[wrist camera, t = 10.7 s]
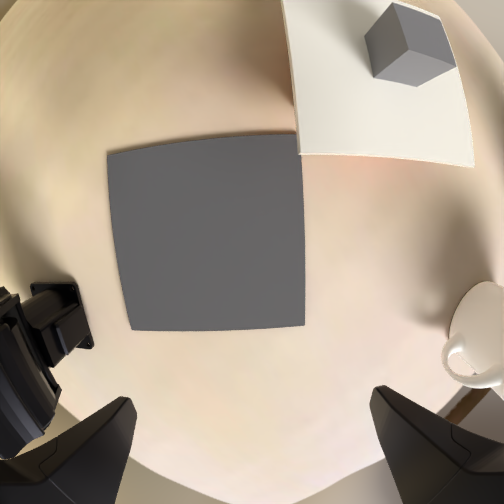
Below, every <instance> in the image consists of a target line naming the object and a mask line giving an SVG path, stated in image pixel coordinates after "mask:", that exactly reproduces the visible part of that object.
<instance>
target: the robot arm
mask: <svg viewBox="0 0 504 504" xmlns="http://www.w3.org/2000/svg"><path fill="white" fill-rule="evenodd" d="M34 287H35V288H34ZM72 287H73V288H74V290H73V288H72ZM30 289H31V292H32V296H33V297H31V298H29V299H28V300H26V301H24V302H23V303H20V297H19V294H18V293H17V294H10V292H8V291H7V290H6V289H5V287H4V286H3V287H0V458H1V459H7V460H0V504H115V500H116V496H117V493H118V489H119V486H120V482H121V479H122V476H123V472H124V469H125V466H126V463H127V459H128V456H129V453H130V449H131V445H132V440H133V435H134V430H135V425H136V420H137V412H136V410H135V407H134V405H133V403H132V400H131V399H130V398H129V397H123V396H120V397H118V398H117V399H115V400H114V401H112V402H111V403H109V404H107V405H106V406H104V407H103V408H101V409H100V410H98V411H97V412H95V413H94V414H92V415H91V416H89V417H87V418H86V419H84V420H83V421H81V422H80V423H78V424H76V425H75V426H73V427H72V428H70V429H69V430H67V431H65V432H63V433H62V434H60V435H59V436H58V437H55V438H53V439H52V440H50V441H48V442H47V443H45V444H43V445H41V446H39V447H37V448H35V449H33V450H31V451H28V452H26V453H24V454H21V455H19V456H17V457H15V456H16V455H17V454H18V453H19V452H20V450H21V449H22V448H23V447H25V446H26V445H27V444H28V443H29V442H31V441H32V440H34V439H36V438H38V437H40V436H43V435H44V434H45V432H44V430H45V429H46V428H47V427H48V426H49V424H50V423H51V421H52V419H53V417H54V415H55V408H56V405H57V402H58V400H59V397H60V394H61V391H62V389H61V387H60V386H59V384H57V382H56V381H55V379H54V377H53V375H52V373H51V371H50V370H49V368H50V367H52V368H54V367H55V366H56V365H57V364H58V363H59V362H60V361H61V360H62V359H63V358H64V357H65V356H66V355H69V353H70V352H71V351H72V350H73V349H74V348H75V347H76V348H83V349H92V348H93V347H94V342H93V339H92V336H91V333H90V329H89V326H88V323H87V319H86V316H85V312H84V308H83V305H82V301H81V297H80V293H79V288H78V285H77V284H76V283H75V282H34V283H32V284H31V285H30ZM88 343H89V344H90V345H89V344H88ZM370 410H371V413H372V417H373V421H374V425H375V428H376V432H377V436H378V439H379V442H380V445H381V447H382V450H383V452H384V455H385V457H386V460H387V462H388V465H389V467H390V470H391V472H392V475H393V478H394V480H395V483H396V486H397V488H398V491H399V494H400V496H401V499H402V502H403V504H504V443H500V442H497V441H494V440H491V439H488V438H485V437H482V436H480V435H477V434H475V433H472V432H470V431H467V430H465V429H463V428H461V427H459V426H457V425H455V424H453V423H451V422H449V421H448V420H446V419H444V418H442V417H440V416H438V415H436V414H435V413H433V412H431V411H429V410H427V409H426V408H424V407H422V406H420V405H418V404H417V403H415V402H413V401H411V400H410V399H408V398H406V397H404V396H403V395H401V394H399V393H397V392H396V391H394V390H392V389H391V388H389V387H387V386H385V385H382V386H377V387H375V388H374V389H373V392H372V396H371V400H370ZM10 458H11V459H10Z"/></svg>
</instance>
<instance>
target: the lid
mask: <svg viewBox="0 0 504 504" xmlns="http://www.w3.org/2000/svg"><path fill="white" fill-rule="evenodd" d="M280 1H281V7H282V14H283V20H284V27H285V33H286V41H287V48H288V56H289V64H290V72H291V81H292V90H293V100H294V111H295V122H296V134H297V148H298V155H350V156H371V157H386V158H398V159H409V160H418V161H427V162H435V163H442V164H449V165H456V166H462V167H475V163H474V151H473V142H472V134H471V127H470V120H469V114H468V109H467V104H466V99H465V94H464V90H463V86H462V82H461V78H460V74H459V70H458V67H457V64H456V60H455V57H454V54H453V51H452V48H451V45H450V42H449V39H448V37H447V34H446V31H445V29H444V26H443V24H442V22H441V19H440V17H439V16H437V15H435V14H433V13H430V12H428V11H426V10H423V9H420V8H418V7H415V6H412V5H410V4H407V3H404V2H401V1H398V0H280Z"/></svg>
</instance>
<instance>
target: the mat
mask: <svg viewBox="0 0 504 504" xmlns="http://www.w3.org/2000/svg"><path fill="white" fill-rule="evenodd" d="M107 164H108V185H109V199H110V210H111V220H112V228H113V236H114V243H115V250H116V257H117V263H118V269H119V274H120V280H121V285H122V290H123V295H124V299H125V304H126V308H127V313H128V317H129V321H130V325H131V329H132V330H140V331H225V330H249V329H266V328H280V327H293V326H304V325H305V230H304V201H303V180H302V163H301V155H298V148H297V134H277V135H252V136H236V137H224V138H213V139H203V140H194V141H186V142H179V143H172V144H165V145H159V146H153V147H147V148H142V149H136V150H131V151H126V152H121V153H117V154H112V155H108V156H107Z"/></svg>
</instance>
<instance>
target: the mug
mask: <svg viewBox="0 0 504 504" xmlns="http://www.w3.org/2000/svg"><path fill="white" fill-rule="evenodd" d="M452 353H456V354H457V355H458V356H459V357H460V358H461V359H462V360H463V361H464V362H465V363H467V364H468V365H469V366H470V367H471V368H472V369H473V370H474V371H475V372H476V373H477V375H473V376H463V375H459V374H457V373H455V372H453V371H452V370H451V369H450V367H449V365H448V357H449V356H450V355H451V354H452ZM441 361H442V364H443V366H444V368H445V370H446V371H447V373H448V374H449V375H450V376H451V377H452V378H453V379H454V380H456V381H457V382H458V383H460V384H462V385H465V386H468V387H472V388H488V387H491V388H492V389H493V390H494V391H495V392H496V393H497V394H498V395H499V396H500V397H501V398H502V399H503V400H504V287H502V286H500V285H498V284H496V283H493V282H489V281H485V282H481V283H479V284H477V285H475V286H474V287H473V288H471V289H470V290H469V291H468V292H467V294H466V295H465V296H464V297H463V299H462V300H461V302H460V303H459V305H458V307H457V309H456V311H455V313H454V316H453V319H452V322H451V326H450V331H449V340H448V341H447V342H446V343H445V345H444V347H443V349H442V352H441Z"/></svg>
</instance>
